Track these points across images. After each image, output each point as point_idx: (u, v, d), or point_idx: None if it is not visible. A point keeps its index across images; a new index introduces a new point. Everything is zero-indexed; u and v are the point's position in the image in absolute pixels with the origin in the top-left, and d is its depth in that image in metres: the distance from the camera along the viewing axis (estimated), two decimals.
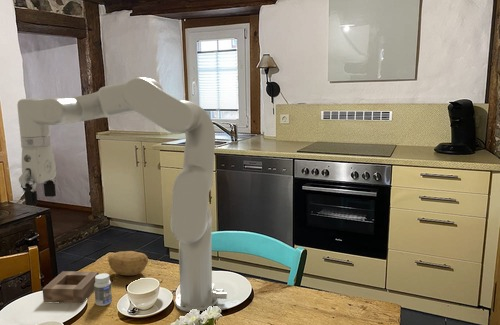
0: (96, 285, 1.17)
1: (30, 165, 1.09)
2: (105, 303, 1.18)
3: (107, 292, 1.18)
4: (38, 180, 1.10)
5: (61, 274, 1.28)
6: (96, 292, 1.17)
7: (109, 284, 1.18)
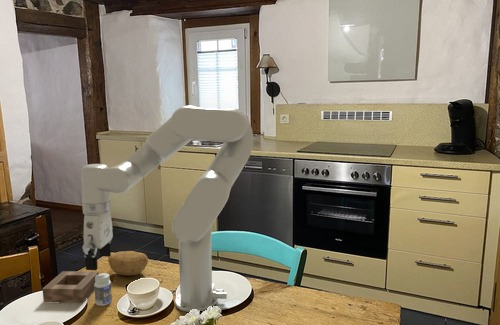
0: (96, 285, 1.17)
1: (92, 232, 1.11)
2: (105, 303, 1.18)
3: (107, 292, 1.18)
4: (99, 246, 1.12)
5: (61, 274, 1.28)
6: (96, 292, 1.17)
7: (109, 284, 1.18)
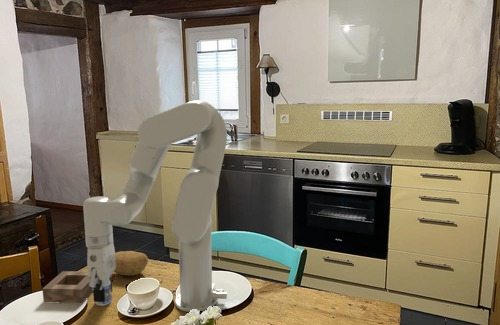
0: None
1: (96, 264, 1.13)
2: (105, 303, 1.18)
3: (107, 292, 1.18)
4: (103, 278, 1.13)
5: (61, 274, 1.28)
6: None
7: (109, 284, 1.18)
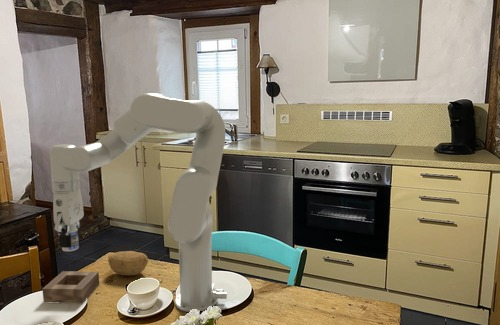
0: None
1: (61, 209, 1.15)
2: (71, 249, 1.20)
3: (74, 238, 1.20)
4: (69, 223, 1.16)
5: (61, 274, 1.28)
6: None
7: (75, 231, 1.21)
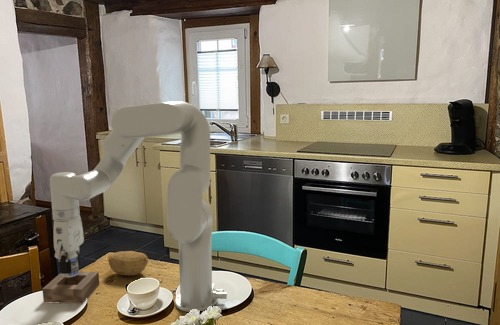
0: None
1: (61, 237, 1.17)
2: (71, 275, 1.22)
3: (74, 264, 1.22)
4: (69, 250, 1.18)
5: (61, 274, 1.28)
6: None
7: (75, 257, 1.23)
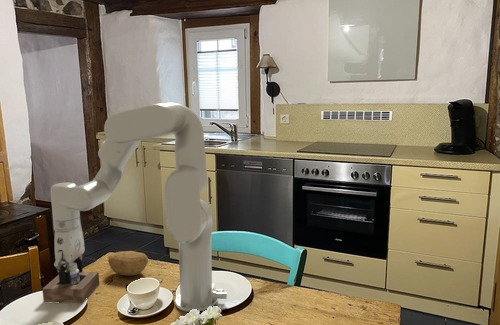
0: None
1: (62, 247, 1.17)
2: None
3: (75, 280, 1.23)
4: (70, 260, 1.18)
5: None
6: None
7: (77, 272, 1.23)
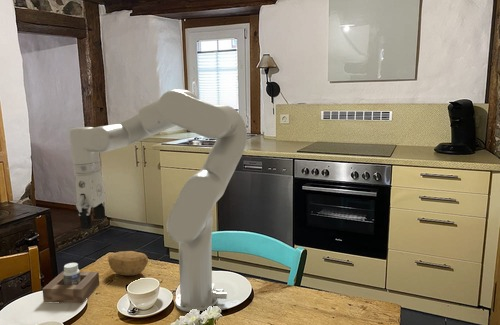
0: (64, 274, 1.22)
1: (85, 190, 1.15)
2: None
3: (76, 280, 1.23)
4: (92, 204, 1.16)
5: (61, 274, 1.28)
6: (64, 280, 1.22)
7: (77, 273, 1.23)
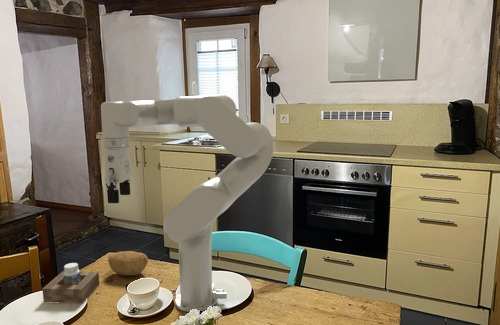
0: (65, 274, 1.22)
1: (113, 165, 1.15)
2: None
3: (76, 281, 1.23)
4: (120, 179, 1.16)
5: (61, 274, 1.28)
6: (64, 280, 1.22)
7: (77, 273, 1.23)
